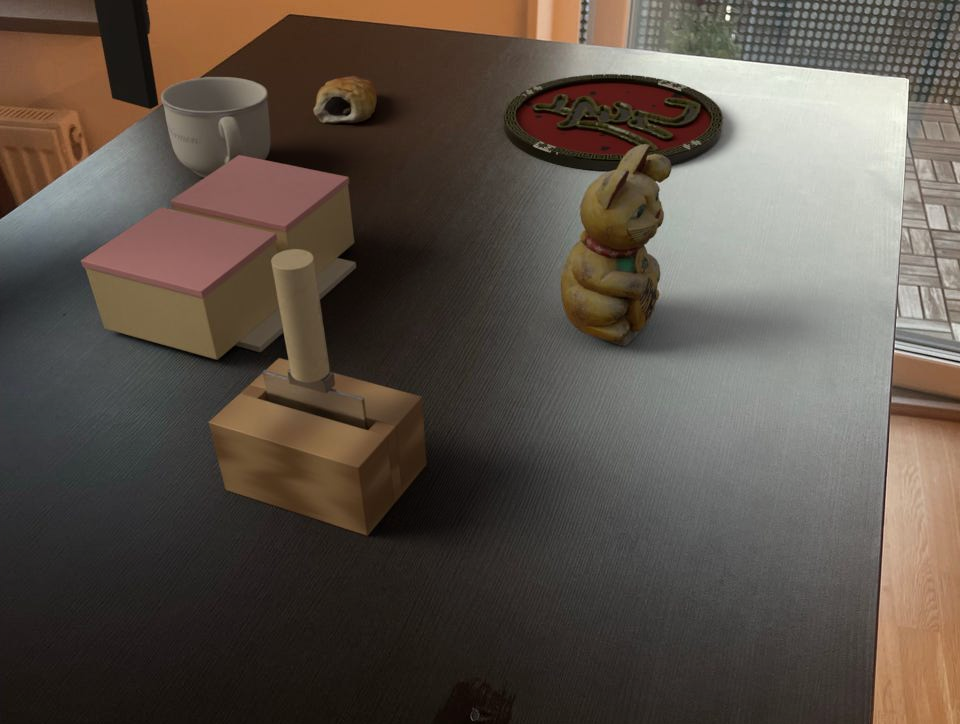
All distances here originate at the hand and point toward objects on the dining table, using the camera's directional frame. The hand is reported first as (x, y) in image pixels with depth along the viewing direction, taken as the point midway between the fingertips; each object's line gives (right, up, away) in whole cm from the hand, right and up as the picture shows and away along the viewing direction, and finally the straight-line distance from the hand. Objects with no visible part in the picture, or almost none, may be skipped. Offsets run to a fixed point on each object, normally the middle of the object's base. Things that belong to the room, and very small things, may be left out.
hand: (56, 143), depth 56 cm
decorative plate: (+38, +32, +63) cm, 81 cm away
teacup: (-4, +23, +56) cm, 61 cm away
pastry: (+7, +36, +67) cm, 76 cm away
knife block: (+12, -15, +20) cm, 28 cm away
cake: (+1, +5, +39) cm, 39 cm away
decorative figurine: (+34, 0, +34) cm, 48 cm away
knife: (+12, -15, +20) cm, 28 cm away
